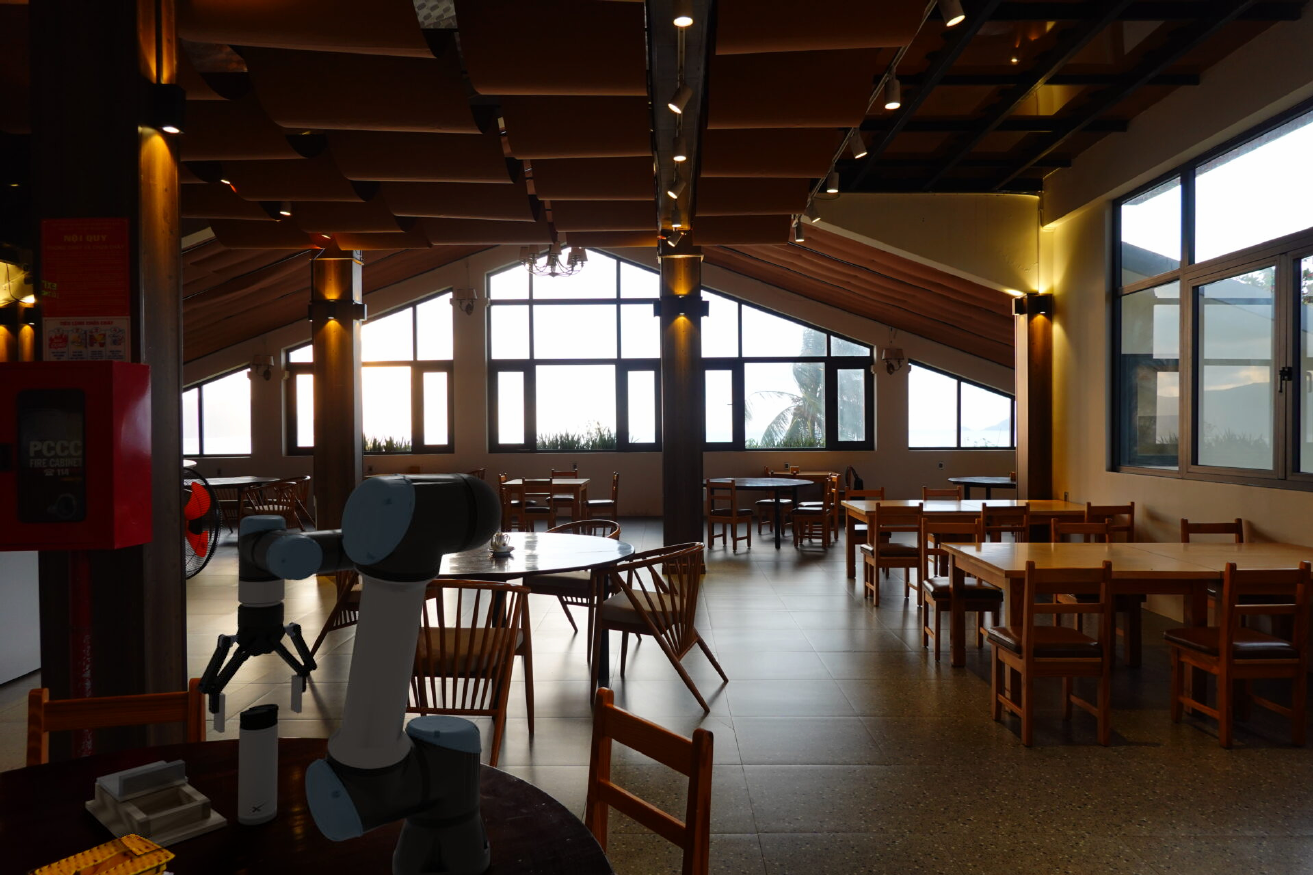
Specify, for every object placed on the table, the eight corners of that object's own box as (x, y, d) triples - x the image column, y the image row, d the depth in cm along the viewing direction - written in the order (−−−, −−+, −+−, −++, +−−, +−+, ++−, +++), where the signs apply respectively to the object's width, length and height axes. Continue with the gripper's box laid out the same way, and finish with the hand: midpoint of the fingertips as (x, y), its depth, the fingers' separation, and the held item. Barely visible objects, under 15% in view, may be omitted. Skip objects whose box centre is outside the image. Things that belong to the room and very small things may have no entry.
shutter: (187, 781, 151) (188, 761, 151) (119, 801, 142) (119, 780, 142) (163, 764, 158) (163, 744, 158) (96, 782, 150) (97, 761, 150)
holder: (226, 825, 143) (227, 802, 143) (136, 856, 133) (136, 831, 133) (169, 783, 160) (170, 762, 160) (85, 807, 149) (85, 785, 149)
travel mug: (262, 827, 143) (264, 713, 143) (229, 823, 144) (231, 709, 144) (286, 811, 149) (287, 701, 149) (254, 807, 150) (255, 698, 150)
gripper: (317, 589, 159) (315, 699, 159) (177, 609, 139) (174, 733, 140) (337, 595, 154) (335, 708, 154) (194, 616, 135) (192, 745, 135)
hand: (259, 720), depth 147 cm, fingers open, 13 cm apart
